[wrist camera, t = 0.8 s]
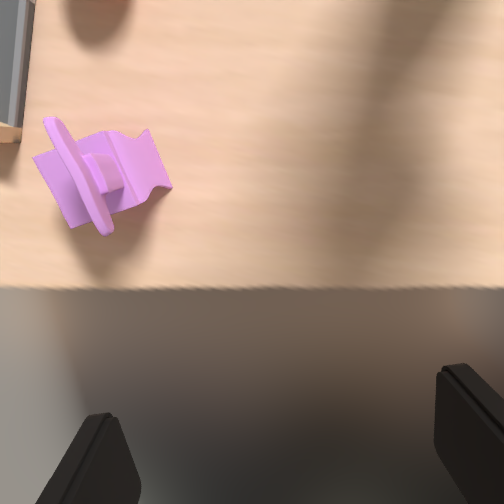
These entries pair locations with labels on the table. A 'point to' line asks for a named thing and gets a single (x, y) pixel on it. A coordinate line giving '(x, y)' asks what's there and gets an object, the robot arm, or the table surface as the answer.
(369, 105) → the table surface
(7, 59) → the lane
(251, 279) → the table surface
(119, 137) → the toy chair
